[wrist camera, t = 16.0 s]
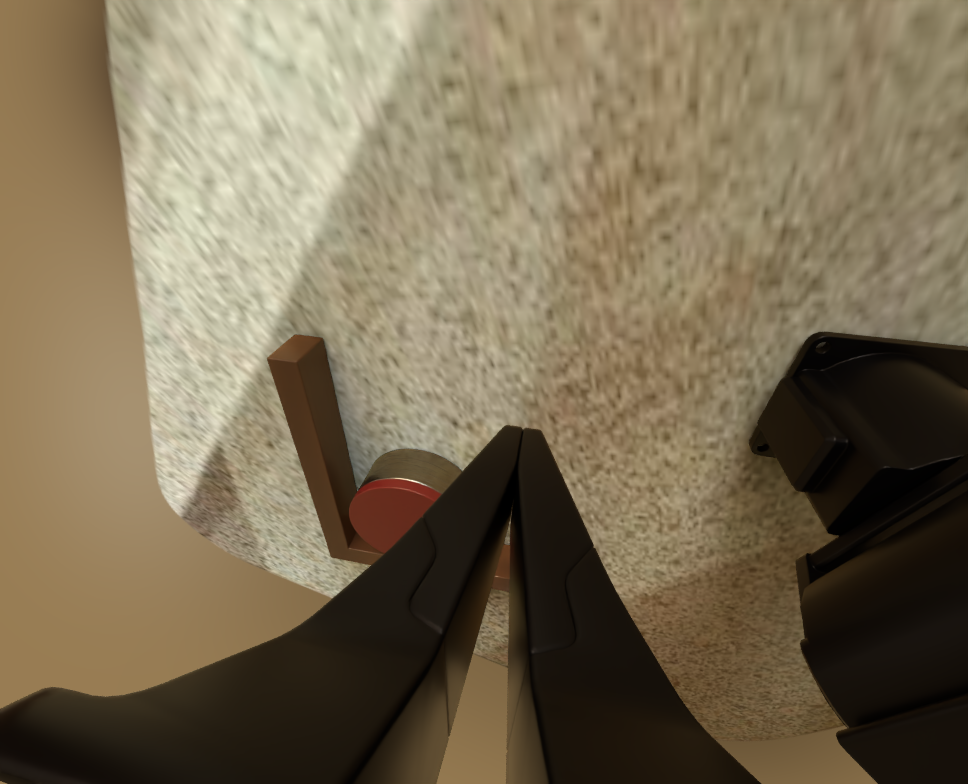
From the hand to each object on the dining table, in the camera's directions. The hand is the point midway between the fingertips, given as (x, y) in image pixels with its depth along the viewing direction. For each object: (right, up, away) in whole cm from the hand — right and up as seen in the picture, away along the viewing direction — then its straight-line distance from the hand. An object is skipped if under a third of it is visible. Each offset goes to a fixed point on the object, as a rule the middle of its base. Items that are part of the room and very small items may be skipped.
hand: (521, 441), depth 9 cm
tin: (-5, -5, +17) cm, 19 cm away
